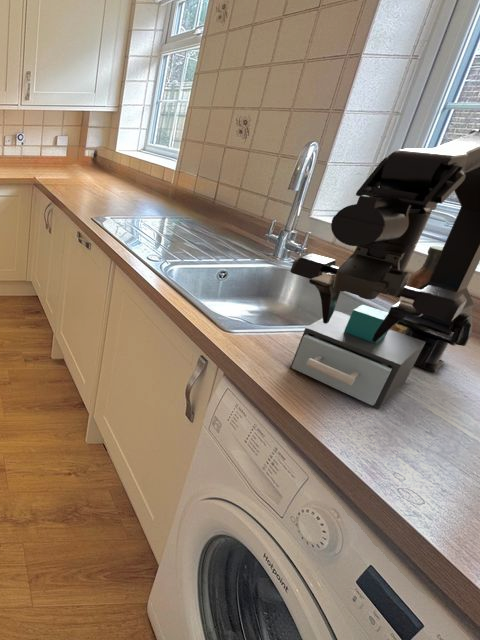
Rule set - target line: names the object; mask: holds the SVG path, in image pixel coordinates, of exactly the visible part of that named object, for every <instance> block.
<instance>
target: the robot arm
mask: <svg viewBox="0 0 480 640" xmlns="http://www.w3.org/2000/svg"><path fill="white" fill-rule="evenodd" d="M453 193H454V194H455V195H456V198H457V200H458V203H459V204H460V208H459V210H458V213H457V216H456V218H455V220H454V222H453V223H452V224H453V225H452V226H451V228H450V231H449V234H448V235H447V238H446V240H445V242H444V245H443V246H442V247H443V249H442V252H441V254H440V256H439V258H438V261H437V263H436V265H435V267H434V270H433V272H432V274H431V276H430V279H429V281H428V283H427V284H425V285H423V286H421V287H419V288H418V289H415V288H412V287H408V286H407V283H408V281H409V271H406V270H407V267H408V264H409V263H410V260H411V257H412V256H413V254H414V251H415V250H416V247H417V245H418V242H419V241H420V238H421V236H422V234H423V232H424V230H425V227H426V225H427V224H428V221H429V219H430V217H431V215H432V212H433V211H435V210H436V209H437V207H438V206H437V205H438V204H443V203H444V202H445V201H446V200H447V199H448V198H449V197H450V196H451V194H453ZM355 196H356V197H358V200H357V203H354V204H350V205H347V206H345V207H343V208H341V209H339V211H337V213H336V214H335V215H333V217H332V220H331V223H330V229H331V232H332V235H333V236H334V237H335V238H336V240H338V241H339V242H340V243H341V244H344V245H347V246H350V247H355V249H354V252H352V254H351V255H350V256H349V257H348V258H347V259H346V260H345V261H344V262H343V263H342V264H341V265H340V266H336V264H337V261H336V259H334V258H330V257H326V256H323V255H319V254H315V253H308V254H306V255H303V256H300V257H298V258H296V259H294V261H293V262H292V265H291V268H290V270H289V272H290V273H291V274H292V275H295V276H296V275H297V276H300V277H303V278H306V279H308V283H309V285H313V286H314V287H315V288H316V289H317V290H318V293H319V297H320V301H321V302H320V303H321V313H322V318H323V323H325V324H327V323H328V322H329V321H330V319H331V317H332V315H333V312H334V311H335V309H336V305H337V303H338V300H339V297H340V294H341V293H343V292H344V293H348V294H352V295H355V296H358V297H359V298H361V299H363V300H375V299H377V297H378V296H379V295H380V294H382V295H389V296H392V297H395V298H398V302H396V303H395V304H393V305H391V306H390V308H389V311H388V312H387V313H388V315H387V316H386V318H385V319H384V321H383V322H382V324H381V325H380V326H379V328H378V329H377V331H376V332H375V334H374V337H373V339H372V341H373V342H376V341H377V340H379V339H380V338H381V337H382V336H383V335H384V334H385V333H386V332H388V331H389V330H390V329H391V328H392V327H393V326H394V325H396V324H398V325H402V326H404V327H407V329H406V331H405V333H404V335H407V336H410V337H413V338H416V339H419V340H422V341H425V344H424V346H423V348H422V350H421V352H420V354H419V356H418V358H417V360H416V362H415V364H414V366H416V367H417V368H421V369H424V370H426V371H429V372H432V373H436V372H437V371H438V369H440V368H441V366H442V365H443V364H444V362H445V361H444V360H443V359H441V358H442V356H443V355H444V353H445V351H446V349H447V348H448V346H449V345H450V346H461V347H465V346H466V347H467V344H468V343H469V340H470V338H471V336H472V333H473V317H472V315H470V314H471V312H472V311H473V307H474V301H473V299H472V295H471V294H470V292H469V290H468V286H469V285H470V282H471V280H472V278H473V276H474V274H475V272H476V270H477V268H478V266H479V263H480V128H479V129H473V130H471V131H470V132H469V133H468V134H467V135H464V136H462V137H458V138H456V139H453V140H451V141H449V142H445V143H442V144H441V145H438V146H435V147H432V148H403V149H402V148H401V149H397V150H395V151H393V152H391V153H390V154H389V155H387V156H386V157H384V158H383V159H381V161H380V162H379V164H377V166H376V167H375V168H374V170H373V171H372V172H371V173H370V174H369V176H368V177H367V178H366V180H365V181H364V182H363V183H362V185H361V186H360V187H359V189H358V190H357V191H356V193H355Z"/></svg>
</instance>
